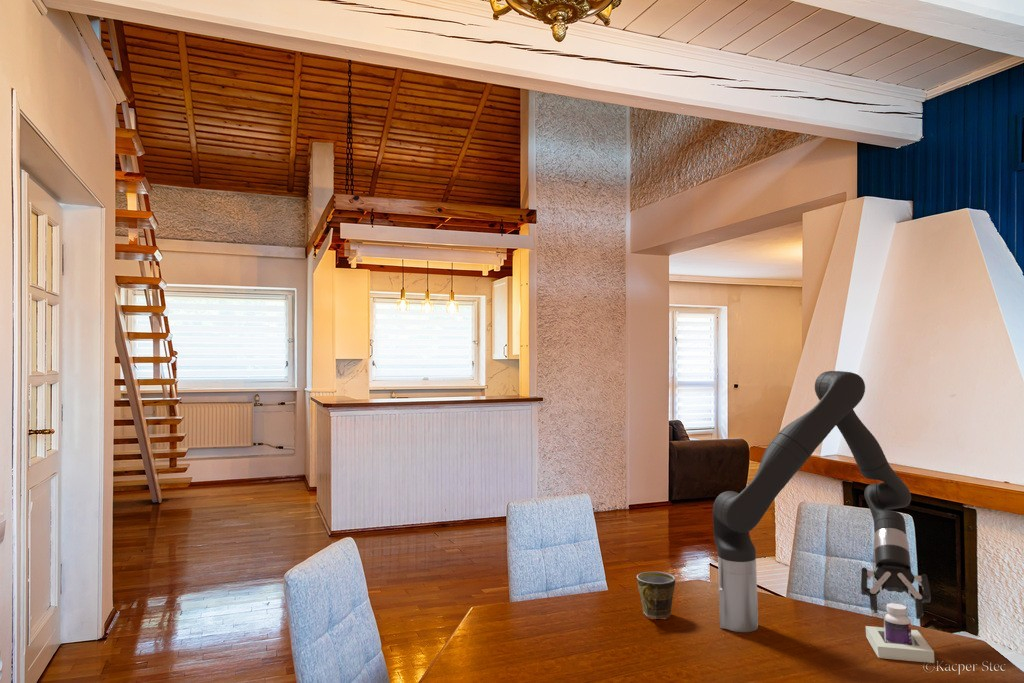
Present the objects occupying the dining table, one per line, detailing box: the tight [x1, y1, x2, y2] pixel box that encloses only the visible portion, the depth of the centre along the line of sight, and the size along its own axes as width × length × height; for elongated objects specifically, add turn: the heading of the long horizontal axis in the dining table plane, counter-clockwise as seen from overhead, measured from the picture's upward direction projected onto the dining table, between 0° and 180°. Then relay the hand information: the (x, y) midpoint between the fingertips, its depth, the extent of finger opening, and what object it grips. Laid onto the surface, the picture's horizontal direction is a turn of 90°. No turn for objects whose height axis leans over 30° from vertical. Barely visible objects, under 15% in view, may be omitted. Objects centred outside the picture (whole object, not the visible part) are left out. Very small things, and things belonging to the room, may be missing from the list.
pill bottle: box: [883, 602, 912, 645], centre depth 153 cm, size 5×5×10 cm
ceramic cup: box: [636, 571, 676, 619], centre depth 175 cm, size 13×10×10 cm
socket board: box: [865, 625, 935, 664], centre depth 153 cm, size 11×12×2 cm
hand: (896, 614), depth 153 cm, fingers open, 8 cm apart
